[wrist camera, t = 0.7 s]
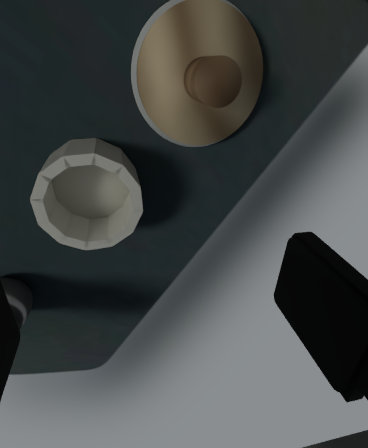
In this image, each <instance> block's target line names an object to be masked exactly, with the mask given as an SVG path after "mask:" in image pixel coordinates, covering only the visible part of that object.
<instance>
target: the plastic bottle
mask: <svg viewBox="0 0 368 448" xmlns="http://www.w3.org/2000/svg"><path fill="white" fill-rule="evenodd" d="M0 281H1V283H2V286H3V289H4V291H5V294H6V296H7V299H8V302H9V304H10V307H11V310H12V312H13V315H14V317H15V320H16V323H17V325H18V328H19V331H20V329H21V326H22V325H23V323H24V322H25V320H26V319H27V317H28V315H29V313H30V311H31V308H32V299H33V296H32V292H31V291H30V289H29V288H28V287H27V285H26V284H24V283H23V282H21V281H19V280H17V279H13V278H0ZM0 401H1V400H0Z"/></svg>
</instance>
